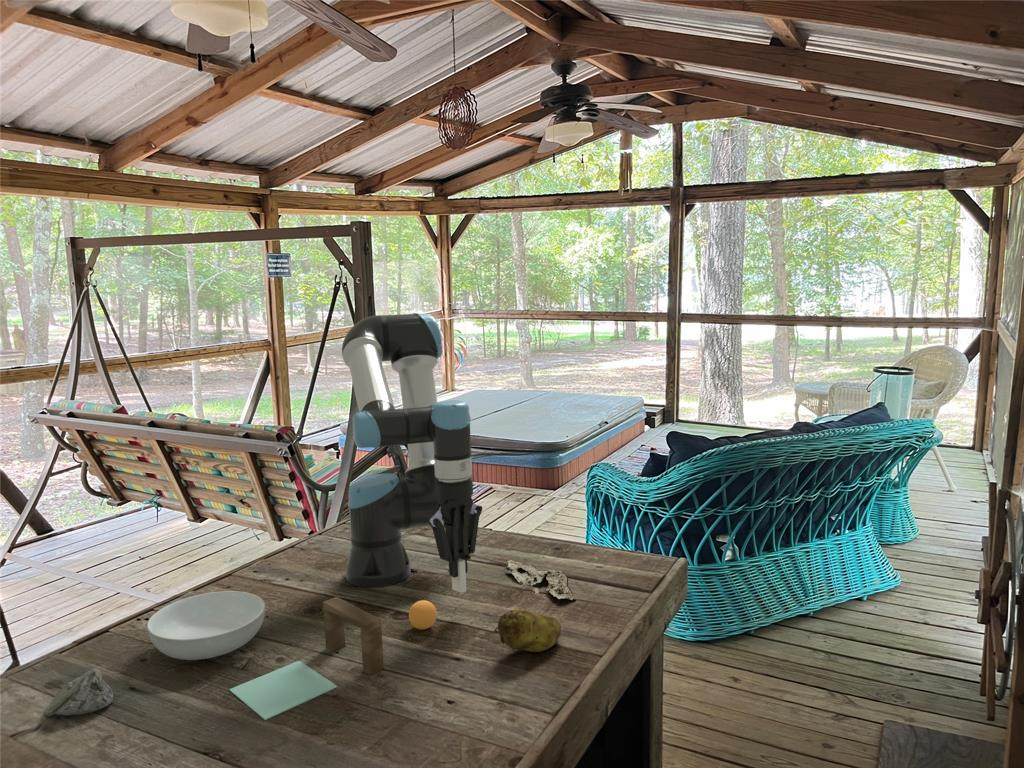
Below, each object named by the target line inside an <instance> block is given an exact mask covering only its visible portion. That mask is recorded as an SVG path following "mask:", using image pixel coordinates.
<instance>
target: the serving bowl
mask: <svg viewBox="0 0 1024 768" xmlns="http://www.w3.org/2000/svg"><path fill="white" fill-rule="evenodd" d="M265 613H266V604H265V601H264V600H263V598H261V597H260V596H258V595H257V594H254V593H251V592H248V591H247V592H246V591H238V590H226V591H225V590H223V591H222V590H221V591H211V592H207V593H202V594H195V595H192V596H188V597H185V598H182V599H179V600H177V601H174V602H172V603H170V604H168V605H165V606H163V607H162V608H160V609H158V611H156V612H155V613H154V614H152V615H151V616H150V618H149V620H148V621H147V624H146V628H147V633H148V636H149V639H150V641H151V643H152V645H154V647H155V649H157V650H158V651H159V652H161V653H162V654H163V655H166V656H167V657H171V658H174V659H177V660H183V661H184V660H186V661H198V660H205V659H207V660H208V659H211V658H216V657H220V656H223V655H227V654H228V653H231V652H233V651H236V650H237V649H239V648H241V647H243V646H244V645H246V644H247V643H248V642H249V641H251V640H252V639H253V638H254V637H255V636H256V634H258V632H259V630H260V628H261V627H262V625H263V623H264V619H265Z"/></svg>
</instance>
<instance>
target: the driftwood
mask: <svg viewBox="0 0 1024 768" xmlns="http://www.w3.org/2000/svg"><path fill="white" fill-rule="evenodd" d="M506 563H507V568H506V569H504V572H505V573H506V574H510V575H512V576H513V577H514V579H516V581H517V582H518V584H520V586H523V585H525V586H527V585H526V584H528V585H530V586H531V587H533V586H534V585H536V584H539V583H541V582H542V581H543V579H544V577H545V576H546V577H545V578H546V580H547V581H548V586H547V587H546V588H545V591H547V592H549V593H550V594H551V595H552V596H553V597H556V598H557V599H558V600H561V599H568V600H570V601H573V600H574V601H576V599H575V597H574V598H573V592H572V589H571V588H570V587H569V578H568V575H567V574H566V573H564V572H563V571H561V570H554V569H549V570H539V569H537V567H536V566H535V565H533V564H526V565H524V563H522V562H519V561H515V560H511V559H506ZM520 568H521V569H522V570H524V571H525V572H522V573H521V572H519V569H520ZM545 574H547V575H545ZM535 578H536V580H535ZM532 592H534V593H535V595H537V594H539V593H540V587H539V586H535V587H533V589H532ZM536 593H537V594H536ZM571 595H572V596H571Z"/></svg>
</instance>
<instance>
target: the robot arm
mask: <svg viewBox="0 0 1024 768" xmlns="http://www.w3.org/2000/svg"><path fill="white" fill-rule="evenodd" d="M442 340H443V338H442V334H441V329H440V326H439V324H438V322H437V320H436V318H435V317H434V316H433V315H432V314H430V313H417V312H414V313H405V314H404V313H403V314H402V313H401V314H384V315H383V314H382V315H378V314H377V315H370V316H366V317H365V318H362V319H360V320H359V321H357V322H356V323H355V324H354V325H353V326H352V327H351V328H350V329H349V330H348V331H347V333H346V334H345V336H344V338H343V340H342V347H341V354H342V359H343V362H344V364H345V365H346V366H347V367H348V368H349V371H350V376H351V381H352V385H353V390H354V395H355V399H356V403H357V408H358V412H355V413H353V415H352V435H353V441H354V444H355V446H356V447H357V448H359V449H366V448H367V449H368V448H373V449H378V448H382V447H383V448H384V447H392V446H402V445H407V451H408V459H409V466H408V468H407V469H406V470H405V471H404V476H405V477H404V479H400V478H399V477H398V474H395V473H391V472H390V473H378V474H372V475H368V476H365V477H362V478H360V479H358V480H357V481H354V482H353V483H352V484H351V486H350V487H349V488H348V503H347V508H348V509H349V524H350V526H349V528H350V530H349V531H350V540H351V541H350V543H351V545H350V550H349V554H348V558H347V563H346V565H345V571H344V572H345V580H346V582H347V583H349V584H350V585H353V586H357V587H361V588H362V587H363V588H378V587H384V586H391V585H394V584H398V583H400V582H402V581H404V580H405V579H407V578H408V577H409V576H410V575H411V573H412V572H411V571H412V570H411V569H412V568H411V561H410V559H409V556H408V553H407V551H406V549H405V546H404V543H403V540H402V530H408V529H409V530H410V529H416V528H425V527H431V528H432V529H431V530H432V532H433V535H434V536H433V537H434V540H435V545H436V548H437V552H438V555H439V558H440V559H441V560H443V561H445V562H447V563H448V575H449V576H450V577H451V587H452V590H453V591H454V592H458V593H460V594H462V593H464V592H467V576H466V575H467V574H468V571H469V569H468V560H470V559H472V558H471V557H472V556H471V554H472V555H473V554H475V551H476V546H477V544H476V543H477V537H478V531H479V530H478V529H479V521H480V517H481V515H482V512H483V506H482V505H478V504H476V503H474V500H473V495H474V485H473V484H474V482H473V478H472V477H471V476H472V475H473V462H472V444H471V443H472V441H471V415H470V408H469V406H470V405H469V404H468V403H467V402H466V401H463V400H454V399H453V400H442V401H438V399H437V391H436V385H435V377H434V368H436V366H437V364H438V359H439V358H441V357H442V354H443V343H442ZM383 362H390V363H391V369H392V370H394V372H396V373H397V374H398V377H399V384H400V385H399V386H400V393H401V395H400V396H401V402H402V408H395V405H394V401H393V397H392V395H391V391H390V390H391V389H390V387H389V386H390V385H389V384H388V381H387V376H386V372H385V370H384V366H383Z"/></svg>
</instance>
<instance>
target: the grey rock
mask: <svg viewBox="0 0 1024 768" xmlns="http://www.w3.org/2000/svg"><path fill="white" fill-rule="evenodd" d="M112 702H114V692H113V690H112V688H111V686H110V685H109V684H107V683H106V681H105V680H104V679H103V674H102V671H100V670H99V669H98V668H97V667H95V668H91V669H90V670H88V671H86V672H85V673H83V674H82V675H80V676H79V677H76V678H75V679H73V680H71V681H69V682H66V684H65V685H64V686H63V687H62V688H61V689H60V690H59V692H58V693H57V694H56V695H55V696H54V698H53V699H52V700H51V701H50V702H49V704H48V706H47V708H46V710H45V712H44V715H45V716H46V718H47V717H51V716H53V715H55V714H56V715H61V716H79V715H85V714H90V713H93V712H96V711H99V710H101V709H104V708H106V707H107V706H109V705H111V704H112Z"/></svg>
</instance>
